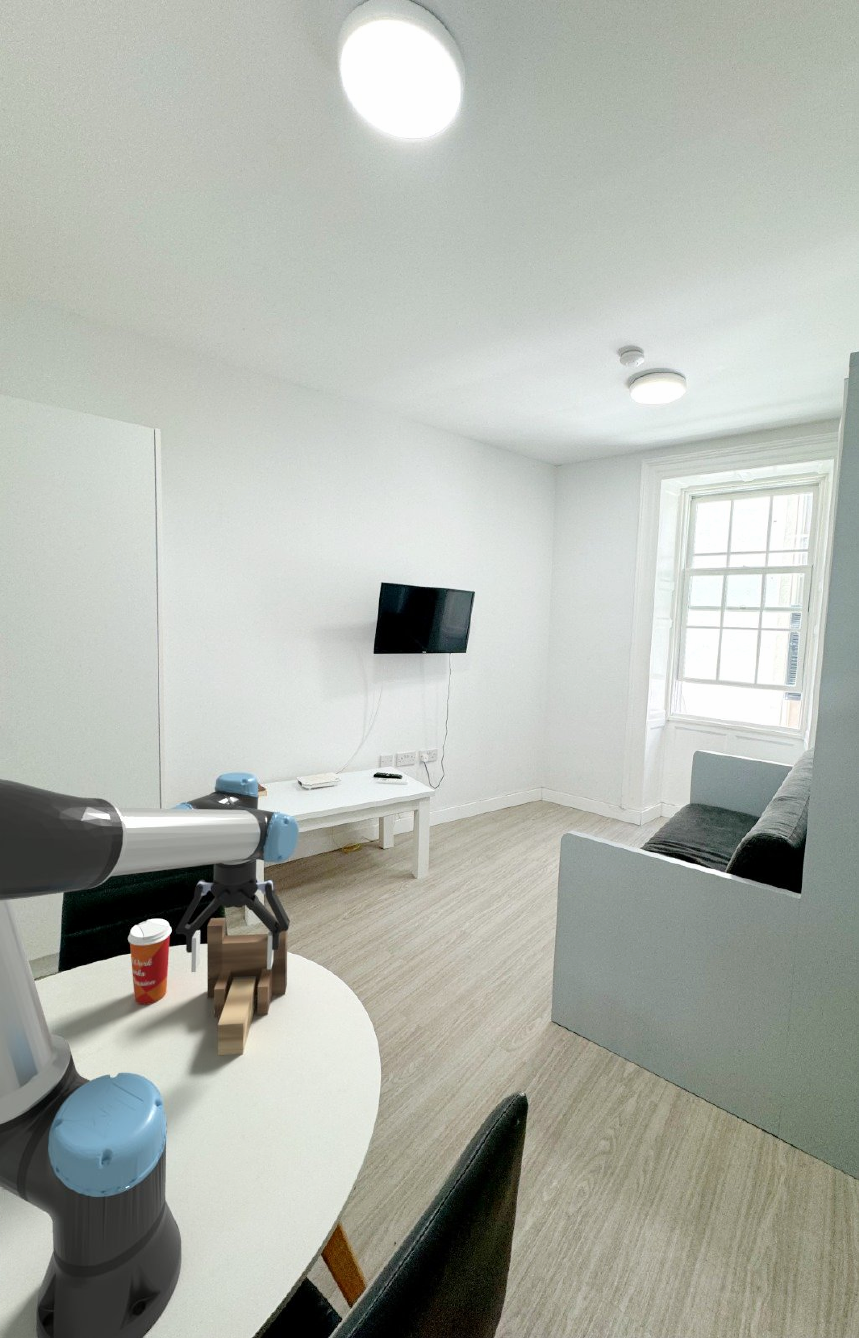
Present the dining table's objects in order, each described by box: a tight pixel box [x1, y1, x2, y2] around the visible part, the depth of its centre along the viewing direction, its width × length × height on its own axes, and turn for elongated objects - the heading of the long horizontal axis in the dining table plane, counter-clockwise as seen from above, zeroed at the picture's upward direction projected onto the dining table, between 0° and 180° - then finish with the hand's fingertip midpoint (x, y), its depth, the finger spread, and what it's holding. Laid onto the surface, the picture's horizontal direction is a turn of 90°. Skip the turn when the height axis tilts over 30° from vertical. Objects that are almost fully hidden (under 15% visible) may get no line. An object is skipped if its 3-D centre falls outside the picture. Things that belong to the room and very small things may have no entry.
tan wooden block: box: [217, 976, 257, 1056], centre depth 111 cm, size 14×4×6 cm, turn 7°
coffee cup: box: [127, 918, 173, 1005], centre depth 119 cm, size 8×8×15 cm
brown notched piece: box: [206, 915, 288, 1018], centre depth 118 cm, size 9×16×16 cm, turn 98°
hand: (233, 966), depth 106 cm, fingers open, 13 cm apart
